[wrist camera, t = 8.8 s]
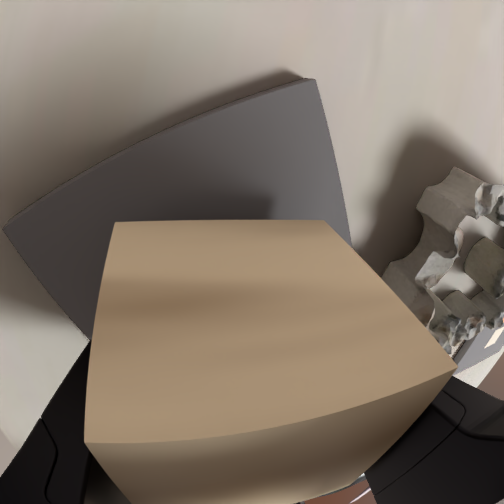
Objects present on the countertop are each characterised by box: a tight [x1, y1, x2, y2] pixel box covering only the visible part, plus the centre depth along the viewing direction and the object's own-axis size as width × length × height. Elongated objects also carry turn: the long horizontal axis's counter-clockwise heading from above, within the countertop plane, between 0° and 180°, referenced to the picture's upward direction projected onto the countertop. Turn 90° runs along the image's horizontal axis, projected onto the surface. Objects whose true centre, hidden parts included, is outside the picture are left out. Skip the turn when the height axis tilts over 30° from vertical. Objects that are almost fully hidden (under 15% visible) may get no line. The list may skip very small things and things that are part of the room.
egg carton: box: [381, 167, 504, 354], centre depth 12 cm, size 11×8×4 cm
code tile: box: [452, 314, 504, 376], centre depth 19 cm, size 9×9×1 cm
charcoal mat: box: [3, 78, 352, 340], centre depth 10 cm, size 9×9×1 cm
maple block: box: [84, 220, 458, 504], centre depth 6 cm, size 5×5×5 cm
